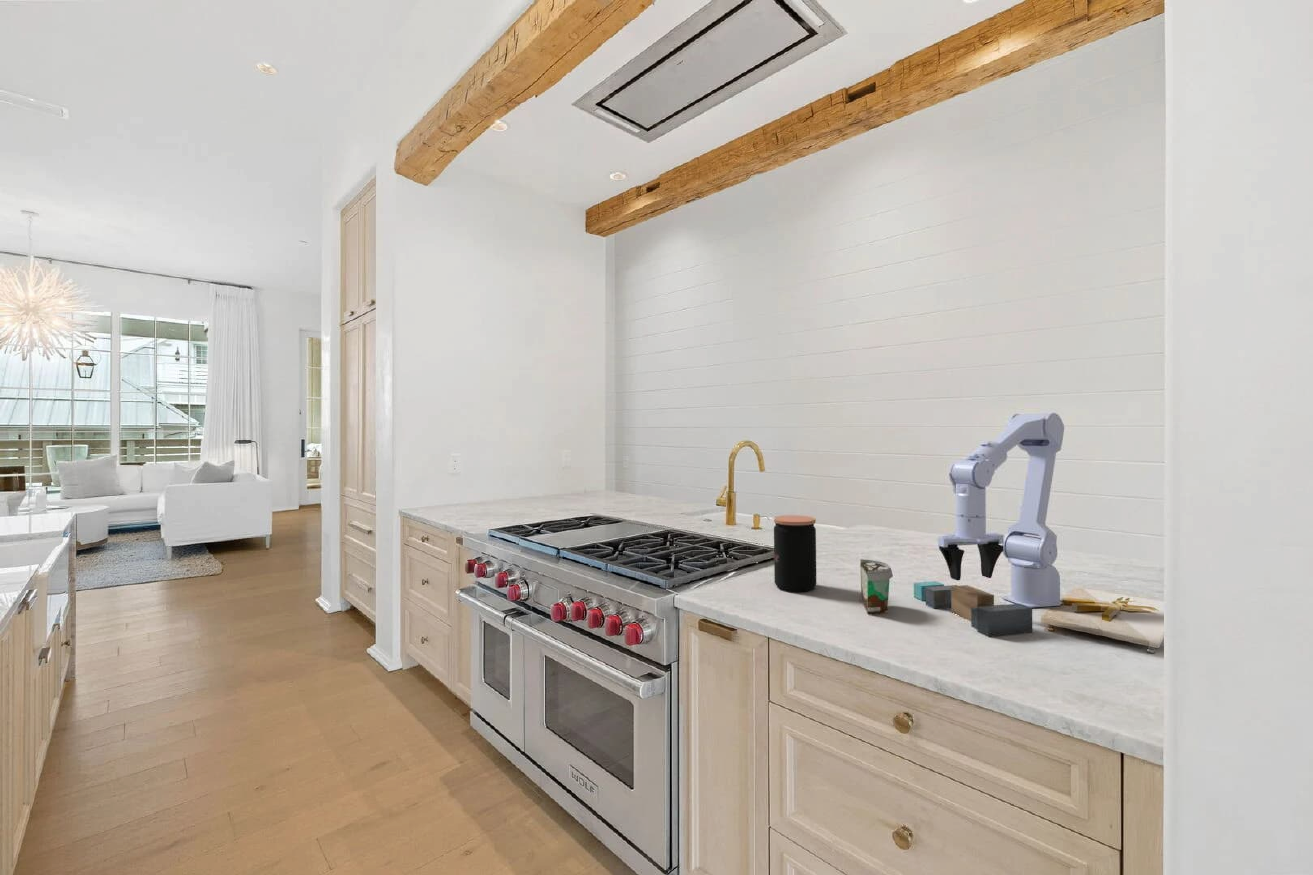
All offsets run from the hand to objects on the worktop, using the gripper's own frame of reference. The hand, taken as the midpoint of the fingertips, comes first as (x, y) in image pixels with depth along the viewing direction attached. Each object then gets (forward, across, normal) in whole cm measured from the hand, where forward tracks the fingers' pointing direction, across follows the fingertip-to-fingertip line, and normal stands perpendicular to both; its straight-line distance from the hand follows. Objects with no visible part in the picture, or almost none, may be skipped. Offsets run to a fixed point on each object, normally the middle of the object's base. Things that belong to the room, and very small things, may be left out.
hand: (971, 578), depth 127 cm
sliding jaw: (+8, 0, +12) cm, 14 cm away
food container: (+9, -16, +10) cm, 21 cm away
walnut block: (+9, 0, 0) cm, 9 cm away
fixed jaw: (+8, 0, -8) cm, 12 cm away
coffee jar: (+9, -27, +31) cm, 42 cm away
